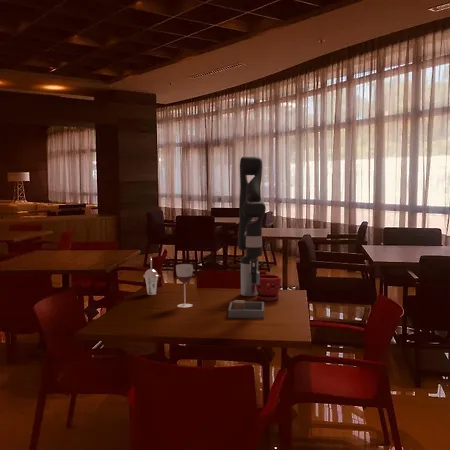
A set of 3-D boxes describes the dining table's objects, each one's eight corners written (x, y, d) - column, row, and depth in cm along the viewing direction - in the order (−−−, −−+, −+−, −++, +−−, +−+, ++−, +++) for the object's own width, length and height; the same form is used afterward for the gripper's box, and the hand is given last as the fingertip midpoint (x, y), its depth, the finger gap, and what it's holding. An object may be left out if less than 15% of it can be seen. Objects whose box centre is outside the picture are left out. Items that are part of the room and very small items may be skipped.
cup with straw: (141, 295, 276) (140, 258, 274) (148, 291, 285) (147, 256, 283) (155, 296, 274) (154, 259, 272) (162, 292, 282) (161, 256, 280)
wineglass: (173, 306, 252) (172, 266, 250) (182, 302, 259) (182, 263, 257) (187, 308, 248) (186, 267, 246) (196, 304, 255) (195, 264, 254)
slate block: (248, 281, 239) (248, 271, 239) (259, 282, 239) (259, 271, 238) (248, 284, 234) (248, 273, 234) (259, 284, 234) (259, 273, 233)
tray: (230, 308, 247) (230, 301, 246) (264, 309, 245) (264, 302, 245) (228, 317, 231) (228, 310, 230) (263, 318, 229) (263, 310, 229)
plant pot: (281, 301, 259) (282, 278, 258) (255, 301, 260) (255, 278, 259) (279, 295, 272) (279, 273, 271) (255, 295, 273) (255, 273, 272)
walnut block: (234, 310, 241) (234, 300, 241) (244, 310, 241) (244, 300, 240) (233, 313, 236) (233, 302, 236) (244, 313, 236) (244, 302, 235)
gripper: (262, 247, 227) (262, 285, 229) (262, 243, 242) (262, 279, 243) (245, 247, 228) (245, 285, 230) (246, 243, 242) (246, 279, 244)
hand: (254, 282), depth 236 cm, fingers closed on slate block, 5 cm apart
